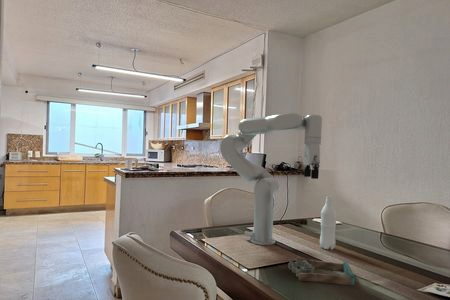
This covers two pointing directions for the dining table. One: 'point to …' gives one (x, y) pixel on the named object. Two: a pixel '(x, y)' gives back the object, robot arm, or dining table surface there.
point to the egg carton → (303, 265)
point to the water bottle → (328, 224)
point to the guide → (325, 277)
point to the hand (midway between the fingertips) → (310, 177)
